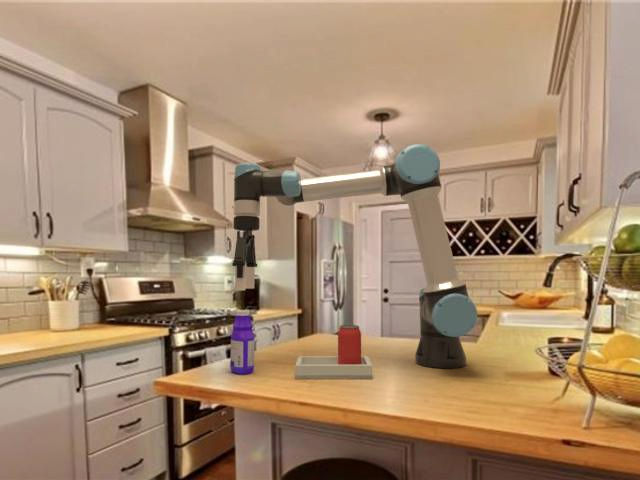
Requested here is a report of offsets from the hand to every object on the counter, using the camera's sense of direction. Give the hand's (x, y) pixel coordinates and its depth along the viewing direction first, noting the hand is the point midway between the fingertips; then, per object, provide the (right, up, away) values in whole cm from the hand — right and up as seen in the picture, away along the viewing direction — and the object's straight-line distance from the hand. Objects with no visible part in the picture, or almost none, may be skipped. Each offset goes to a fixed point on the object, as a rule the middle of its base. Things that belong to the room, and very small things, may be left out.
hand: (245, 289), depth 118 cm
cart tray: (+25, -23, -4) cm, 34 cm away
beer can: (+30, -22, -4) cm, 37 cm away
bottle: (0, -24, -2) cm, 24 cm away
